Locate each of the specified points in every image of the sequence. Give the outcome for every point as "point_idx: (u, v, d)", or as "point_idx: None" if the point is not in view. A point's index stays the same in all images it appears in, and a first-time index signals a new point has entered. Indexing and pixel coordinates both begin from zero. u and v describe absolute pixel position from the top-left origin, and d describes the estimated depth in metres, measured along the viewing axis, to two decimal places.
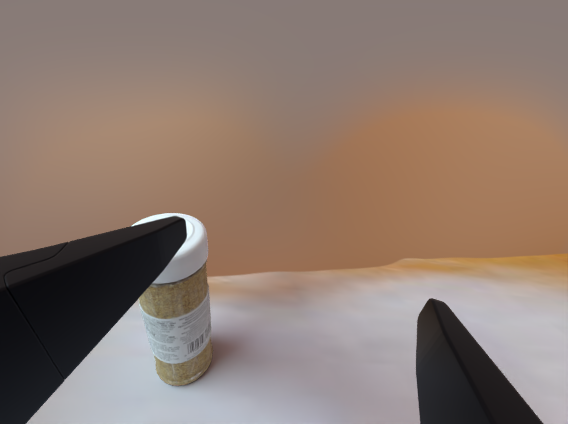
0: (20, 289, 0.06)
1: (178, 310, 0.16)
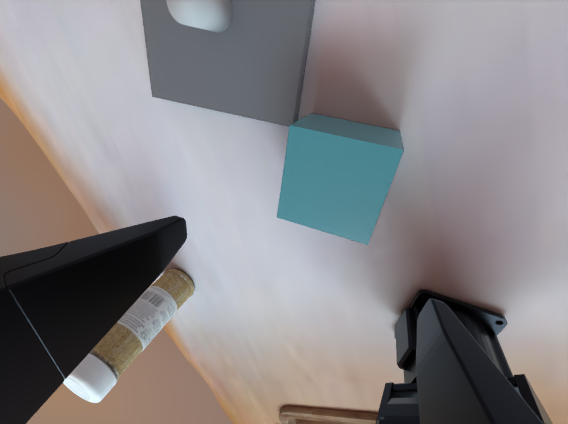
0: (20, 289, 0.06)
1: (130, 339, 0.24)
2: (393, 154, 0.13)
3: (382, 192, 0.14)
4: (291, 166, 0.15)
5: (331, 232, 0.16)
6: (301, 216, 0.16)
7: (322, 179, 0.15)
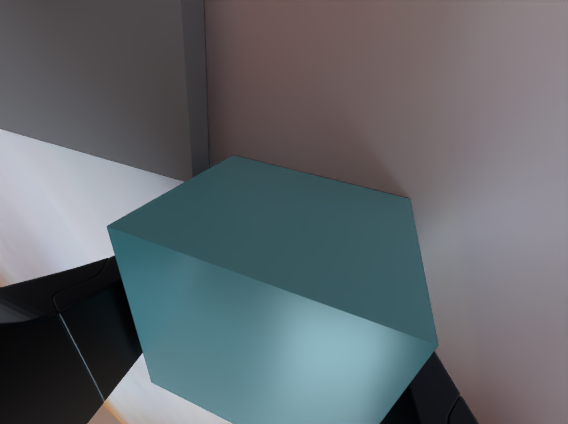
0: (69, 313, 0.05)
1: None
2: (401, 347, 0.04)
3: (369, 413, 0.05)
4: (144, 310, 0.06)
5: None
6: (194, 394, 0.07)
7: (217, 350, 0.06)
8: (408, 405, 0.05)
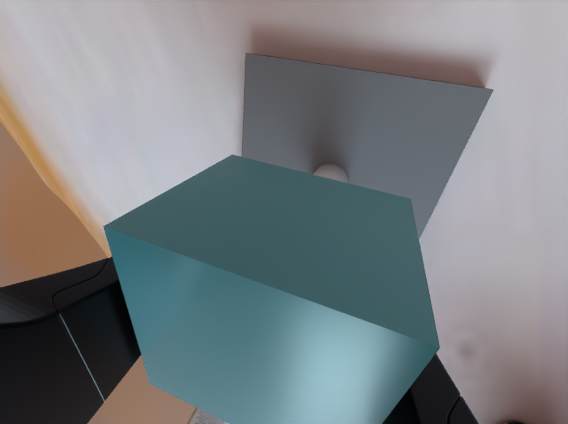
0: (69, 312, 0.05)
1: None
2: (402, 349, 0.04)
3: (370, 415, 0.05)
4: (142, 312, 0.06)
5: None
6: (193, 396, 0.07)
7: (216, 351, 0.06)
8: (408, 405, 0.05)
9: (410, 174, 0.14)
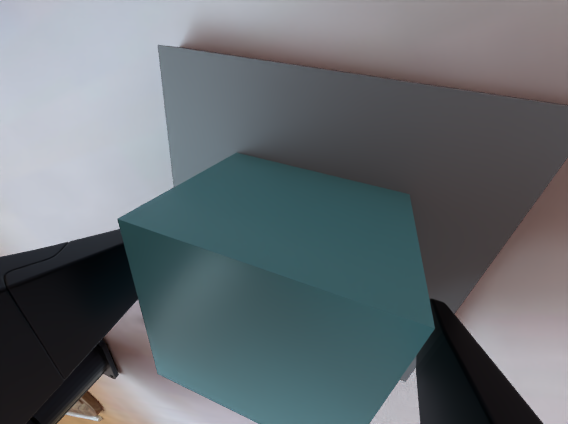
0: (20, 289, 0.06)
1: None
2: (400, 331, 0.04)
3: (370, 398, 0.05)
4: (152, 302, 0.06)
5: None
6: (200, 385, 0.08)
7: (223, 339, 0.06)
8: None
9: None
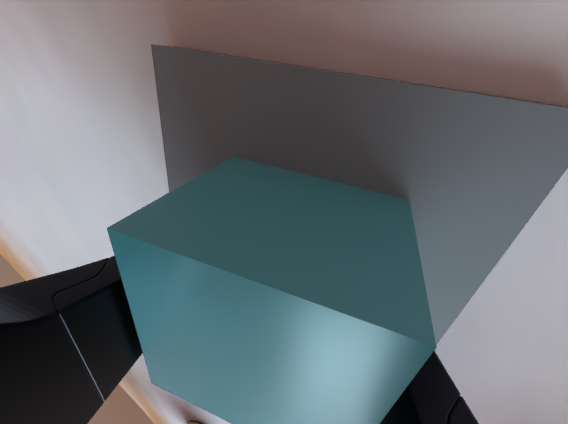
0: (70, 312, 0.05)
1: None
2: (124, 248, 0.05)
3: (217, 278, 0.05)
4: (215, 408, 0.07)
5: (379, 414, 0.05)
6: None
7: (224, 377, 0.06)
8: (408, 405, 0.05)
9: (429, 248, 0.08)
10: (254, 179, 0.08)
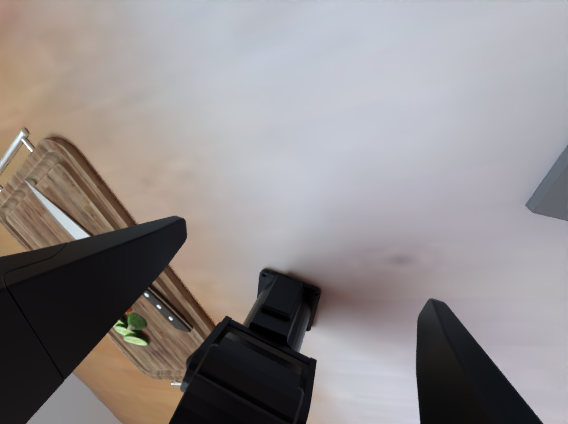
0: (20, 289, 0.06)
1: None
2: None
3: None
4: None
5: None
6: None
7: None
8: None
9: None
10: None
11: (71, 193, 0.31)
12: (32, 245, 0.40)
